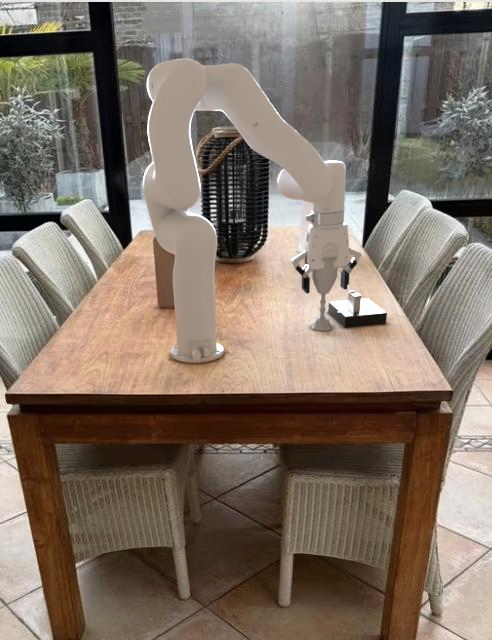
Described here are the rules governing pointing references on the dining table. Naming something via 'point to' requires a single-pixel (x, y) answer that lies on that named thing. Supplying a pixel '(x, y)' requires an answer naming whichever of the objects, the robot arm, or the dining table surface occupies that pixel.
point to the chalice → (324, 290)
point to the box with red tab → (354, 301)
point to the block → (164, 275)
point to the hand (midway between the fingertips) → (325, 290)
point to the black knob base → (357, 314)
